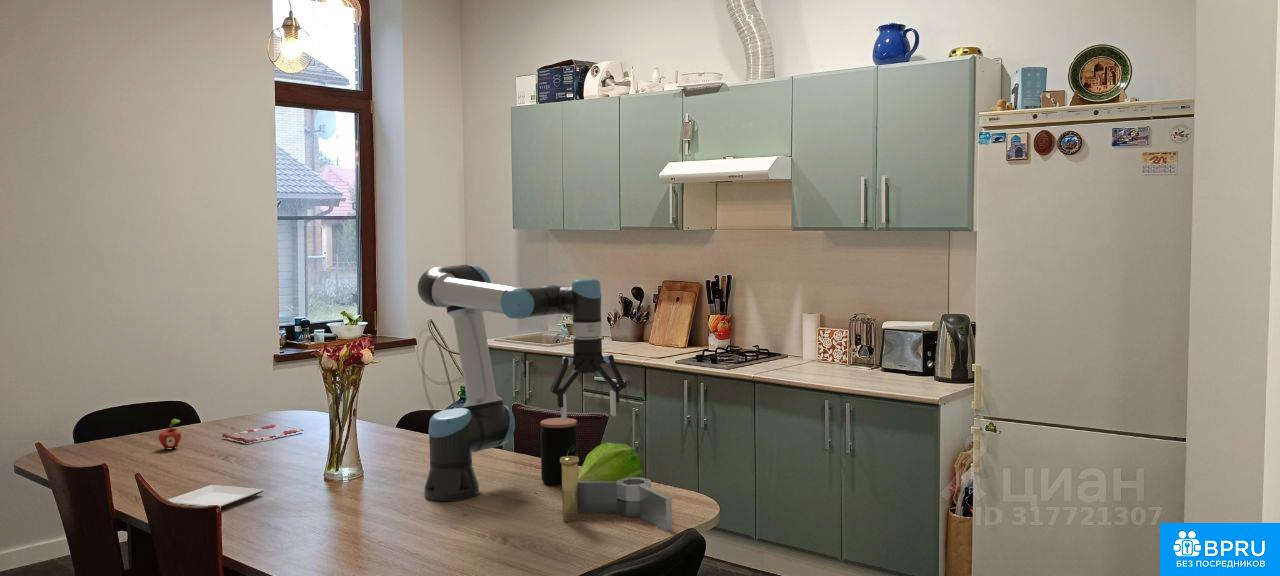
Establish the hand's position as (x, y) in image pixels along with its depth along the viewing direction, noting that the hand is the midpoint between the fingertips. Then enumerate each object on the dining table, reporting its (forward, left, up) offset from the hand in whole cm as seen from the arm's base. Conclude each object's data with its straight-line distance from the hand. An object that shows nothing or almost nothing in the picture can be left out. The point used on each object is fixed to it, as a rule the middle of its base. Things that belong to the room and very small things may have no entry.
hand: (588, 417), depth 263 cm
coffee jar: (-11, +26, -24) cm, 38 cm away
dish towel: (-127, +93, -25) cm, 160 cm away
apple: (-151, +73, -24) cm, 170 cm away
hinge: (+8, -11, -24) cm, 27 cm away
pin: (-4, -12, -24) cm, 27 cm away
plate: (-105, +7, -25) cm, 108 cm away
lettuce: (+4, +13, -24) cm, 28 cm away
